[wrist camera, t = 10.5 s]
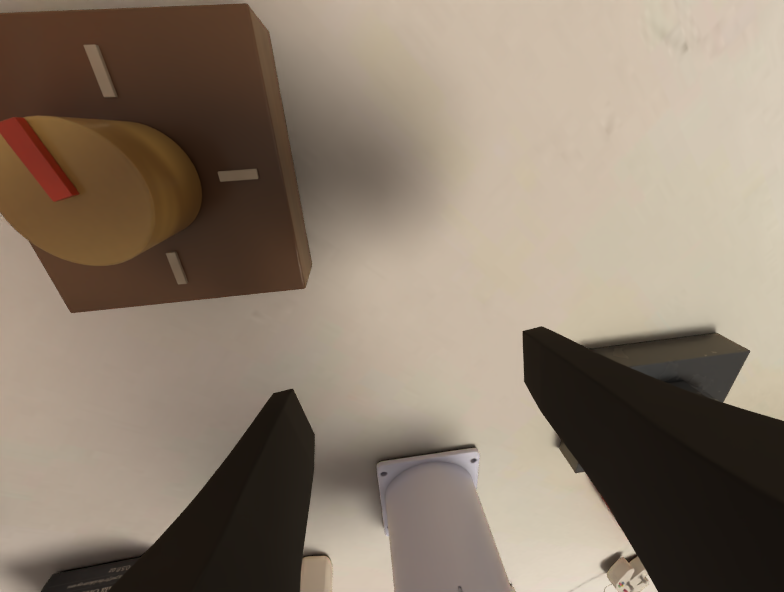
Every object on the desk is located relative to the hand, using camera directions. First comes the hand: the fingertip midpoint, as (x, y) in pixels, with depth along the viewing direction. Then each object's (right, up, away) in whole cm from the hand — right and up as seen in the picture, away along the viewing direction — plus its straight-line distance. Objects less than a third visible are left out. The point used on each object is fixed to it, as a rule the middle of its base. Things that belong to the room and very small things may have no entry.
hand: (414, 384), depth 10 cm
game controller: (+23, -30, +28) cm, 48 cm away
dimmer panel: (-10, +8, +5) cm, 14 cm away
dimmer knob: (-10, +7, +2) cm, 12 cm away
